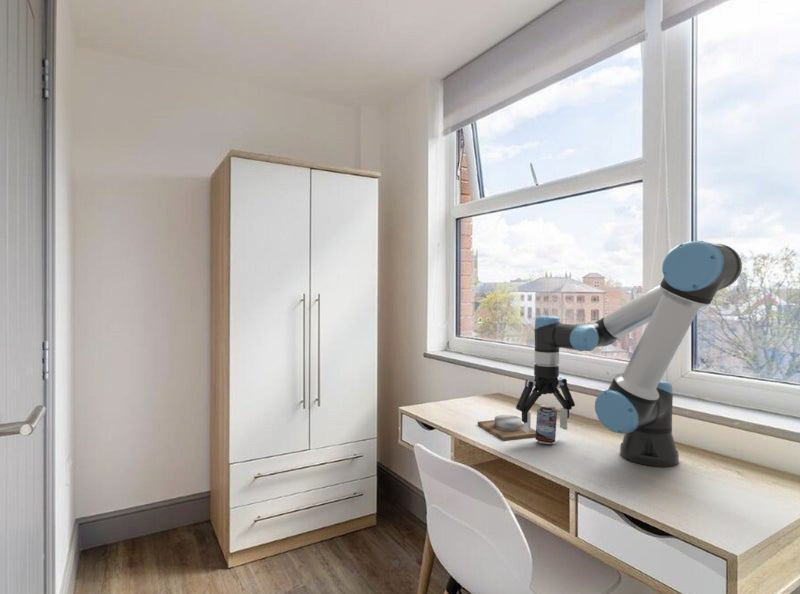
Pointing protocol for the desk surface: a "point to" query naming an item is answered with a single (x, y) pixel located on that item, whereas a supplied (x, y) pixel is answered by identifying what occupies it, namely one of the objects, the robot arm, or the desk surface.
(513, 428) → the post board
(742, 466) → the desk surface
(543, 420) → the beverage can
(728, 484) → the desk surface
